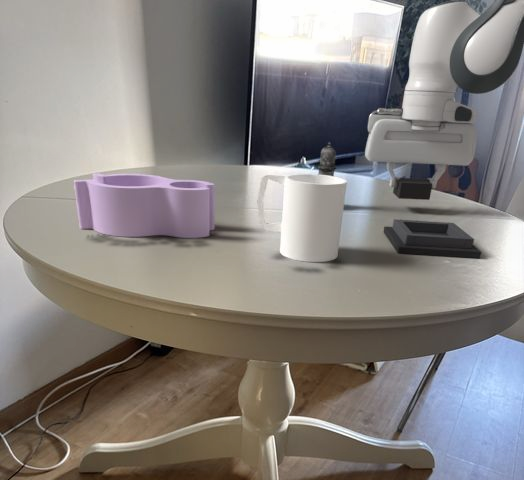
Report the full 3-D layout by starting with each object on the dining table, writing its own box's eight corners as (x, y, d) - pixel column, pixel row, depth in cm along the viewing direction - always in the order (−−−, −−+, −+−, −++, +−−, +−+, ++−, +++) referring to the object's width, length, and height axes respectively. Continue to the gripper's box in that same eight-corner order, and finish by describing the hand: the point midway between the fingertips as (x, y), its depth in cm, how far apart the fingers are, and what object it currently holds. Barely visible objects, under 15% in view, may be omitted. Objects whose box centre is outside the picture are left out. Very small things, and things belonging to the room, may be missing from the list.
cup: (263, 238, 73) (266, 169, 68) (341, 248, 70) (350, 177, 66) (246, 253, 66) (249, 177, 61) (332, 265, 64) (342, 186, 59)
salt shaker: (315, 201, 100) (321, 139, 94) (341, 206, 97) (349, 142, 92) (303, 206, 95) (308, 141, 90) (330, 211, 93) (337, 144, 87)
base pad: (454, 236, 80) (458, 221, 79) (480, 258, 70) (484, 241, 69) (383, 232, 80) (385, 217, 79) (397, 253, 70) (401, 236, 69)
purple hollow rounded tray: (219, 223, 80) (220, 180, 77) (202, 243, 69) (202, 194, 66) (105, 213, 82) (100, 171, 79) (70, 232, 71) (64, 183, 68)
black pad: (422, 194, 98) (424, 178, 97) (429, 199, 93) (432, 183, 92) (392, 192, 99) (395, 177, 97) (398, 198, 93) (401, 182, 92)
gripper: (372, 108, 86) (362, 188, 92) (487, 112, 85) (468, 192, 92) (367, 107, 91) (357, 182, 98) (475, 111, 91) (458, 187, 97)
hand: (412, 187), depth 95 cm, fingers closed on black pad, 6 cm apart
